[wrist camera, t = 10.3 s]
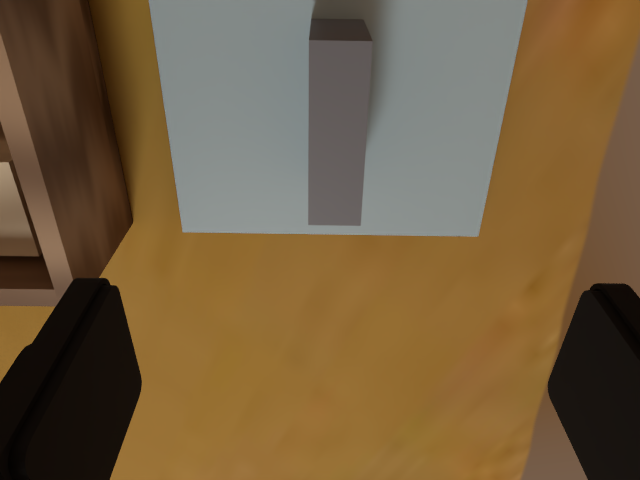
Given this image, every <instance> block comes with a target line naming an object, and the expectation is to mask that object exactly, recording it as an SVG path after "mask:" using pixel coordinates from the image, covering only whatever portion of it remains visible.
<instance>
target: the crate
mask: <svg viewBox="0 0 640 480" xmlns="http://www.w3.org/2000/svg"><path fill="white" fill-rule="evenodd" d="M0 123H1V125H2V128H3V131H4V134H5V137H6V140H7V143H8V147H9V150H10V153H11V156H12V159H13V162H14V165H15V168H16V172H17V175H18V178H19V181H20V184H21V187H22V190H23V193H24V196H25V200H26V203H27V206H28V209H29V212H30V215H31V218H32V221H33V224H34V228H35V231H36V234H37V237H38V240H39V243H40V246H41V249H42V254H41V255H40V256H0V306H56V305H57V304H58V302H59V301H60V299H61V298H62V296H63V295H64V293H65V291H66V290H67V288H68V287H69V285H70V284H71V282H72V281H73V280H74V279H76V278H99V277H100V275H101V273H102V272H103V270H104V269H105V267H106V265H107V264H108V262H109V261H110V259H111V257H112V256H113V254H114V253H115V251H116V249H117V248H118V246H119V245H120V243H121V241H122V240H123V238H124V237H125V235H126V233H127V232H128V230H129V228H130V227H131V225H132V224H133V220H132V215H131V210H130V205H129V200H128V195H127V190H126V185H125V180H124V176H123V171H122V166H121V161H120V156H119V151H118V146H117V141H116V136H115V131H114V126H113V121H112V116H111V111H110V106H109V101H108V96H107V91H106V86H105V82H104V77H103V72H102V67H101V62H100V57H99V52H98V47H97V42H96V37H95V32H94V27H93V22H92V17H91V12H90V7H89V2H88V0H0Z"/></svg>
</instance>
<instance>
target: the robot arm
mask: <svg viewBox="0 0 640 480" xmlns="http://www.w3.org/2000/svg"><path fill="white" fill-rule="evenodd" d="M141 385H142V380H141V374H140V370H139V366H138V362H137V359H136V355H135V351H134V347H133V343H132V339H131V335H130V331H129V327H128V323H127V319H126V315H125V311H124V307H123V304H122V300H121V296H120V292H119V289H118V287H117V286H115V285H110V283H109V281H108V280H107V279H106V278H76V279H74V280H73V281H72V282H71V284H70V285H69V287H68V288H67V290H66V291H65V293H64V295H63V296H62V298H61V299H60V301H59V302H58V304H57V305H56V307H55V308H54V310H53V312H52V313H51V315H50V316H49V318H48V319H47V321H46V322H45V324H44V326H43V327H42V329H41V330H40V332H39V333H38V335H37V336H36V338H35V340H34V341H33V343H32V344H30V345H28V346H26V347H25V348H24V349H23V350H22V351H21V353H20V354H19V355H18V357H17V358H16V360H15V361H14V363H13V364H12V366H11V367H10V369H9V370H8V372H7V373H6V375H5V377H4V378H3V380H2V381H1V383H0V480H110V477H111V474H112V471H113V468H114V466H115V463H116V460H117V457H118V454H119V452H120V449H121V446H122V443H123V440H124V438H125V435H126V432H127V429H128V427H129V424H130V421H131V418H132V415H133V413H134V410H135V407H136V404H137V401H138V399H139V396H140V392H141ZM548 393H549V396H550V399H551V401H552V404H553V406H554V408H555V410H556V412H557V414H558V417H559V419H560V421H561V423H562V425H563V427H564V429H565V431H566V434H567V436H568V438H569V440H570V442H571V444H572V446H573V449H574V451H575V453H576V455H577V457H578V459H579V461H580V463H581V466H582V468H583V470H584V472H585V474H586V476H587V478H588V480H640V298H639V297H638V296H637V294H636V293H635V292H634V291H633V290H632V288H631V287H630V286H628V285H626V284H606V283H605V284H604V283H603V284H602V283H598V284H594V285H593V286H592V287H591V288H590V290H588V291H584V292H583V293H582V295H581V297H580V300H579V303H578V305H577V308H576V310H575V313H574V315H573V318H572V321H571V323H570V326H569V328H568V331H567V334H566V336H565V339H564V341H563V344H562V347H561V349H560V352H559V354H558V357H557V360H556V362H555V365H554V367H553V370H552V373H551V375H550V378H549V381H548Z"/></svg>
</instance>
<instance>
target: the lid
mask: <svg viewBox="0 0 640 480" xmlns="http://www.w3.org/2000/svg"><path fill="white" fill-rule="evenodd" d="M149 5H150V12H151V19H152V26H153V32H154V39H155V46H156V53H157V60H158V67H159V73H160V80H161V87H162V94H163V101H164V108H165V114H166V121H167V128H168V135H169V142H170V148H171V155H172V162H173V169H174V176H175V183H176V189H177V196H178V203H179V210H180V217H181V223H182V230H183V232H206V233H275V234H344V235H413V236H478V235H479V231H480V226H481V221H482V216H483V211H484V207H485V202H486V197H487V192H488V187H489V183H490V178H491V173H492V168H493V163H494V159H495V154H496V149H497V144H498V139H499V135H500V130H501V125H502V120H503V115H504V111H505V106H506V101H507V96H508V91H509V87H510V82H511V77H512V72H513V67H514V63H515V58H516V53H517V48H518V44H519V39H520V34H521V29H522V24H523V20H524V15H525V10H526V5H527V0H149Z"/></svg>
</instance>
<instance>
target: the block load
mask: <svg viewBox="0 0 640 480" xmlns="http://www.w3.org/2000/svg"><path fill="white" fill-rule="evenodd" d="M41 254H42V249H41V246H40V243H39V240H38V237H37V234H36V231H35V228H34V224H33V221H32V218H31V215H30V212H29V209H28V206H27V203H26V200H25V196H24V193H23V190H22V187H21V184H20V181H19V178H18V175H17V172H16V168H15V165H14V162H13V159H12V156H11V153H10V150H9V147H8V143H7V140H6V137H5V134H4V131H3V128H2V125H1V123H0V256H40V255H41Z"/></svg>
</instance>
